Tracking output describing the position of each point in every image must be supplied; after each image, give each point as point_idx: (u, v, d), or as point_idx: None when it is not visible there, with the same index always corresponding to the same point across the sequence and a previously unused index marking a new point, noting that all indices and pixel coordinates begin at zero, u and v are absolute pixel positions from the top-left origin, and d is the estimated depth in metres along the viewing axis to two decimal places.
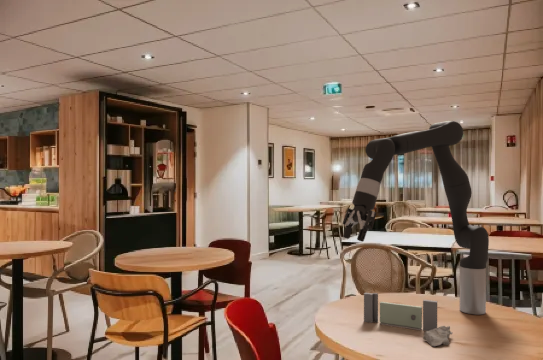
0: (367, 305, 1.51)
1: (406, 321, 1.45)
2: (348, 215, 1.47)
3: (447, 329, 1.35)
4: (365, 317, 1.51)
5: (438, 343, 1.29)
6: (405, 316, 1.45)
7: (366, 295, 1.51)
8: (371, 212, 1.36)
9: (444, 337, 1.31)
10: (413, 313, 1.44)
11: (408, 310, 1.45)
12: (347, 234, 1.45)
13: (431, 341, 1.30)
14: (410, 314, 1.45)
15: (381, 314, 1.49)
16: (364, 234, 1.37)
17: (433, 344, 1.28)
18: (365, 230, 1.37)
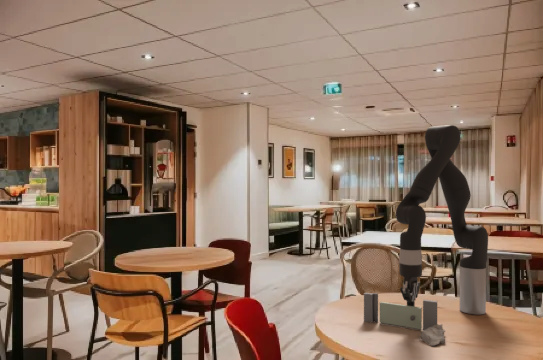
0: (367, 305, 1.51)
1: (406, 322, 1.45)
2: None
3: (441, 327, 1.36)
4: (365, 317, 1.51)
5: (436, 342, 1.29)
6: (405, 316, 1.45)
7: (366, 295, 1.51)
8: (401, 291, 1.43)
9: (440, 336, 1.32)
10: (412, 314, 1.44)
11: (408, 311, 1.44)
12: None
13: (429, 340, 1.30)
14: (410, 315, 1.44)
15: (381, 314, 1.49)
16: (409, 305, 1.46)
17: (432, 343, 1.29)
18: (409, 302, 1.46)
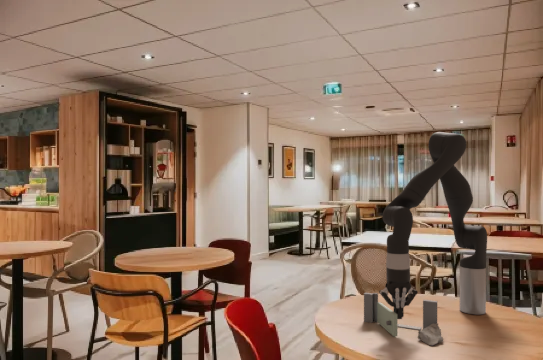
0: (367, 305, 1.51)
1: (387, 326, 1.40)
2: (408, 294, 1.41)
3: (437, 326, 1.37)
4: (365, 317, 1.51)
5: (435, 342, 1.30)
6: (387, 320, 1.41)
7: (366, 295, 1.51)
8: (380, 293, 1.40)
9: (438, 335, 1.33)
10: (390, 319, 1.38)
11: (388, 315, 1.40)
12: None
13: (428, 340, 1.31)
14: (389, 319, 1.39)
15: (378, 314, 1.49)
16: (394, 311, 1.39)
17: (431, 343, 1.29)
18: (394, 307, 1.40)
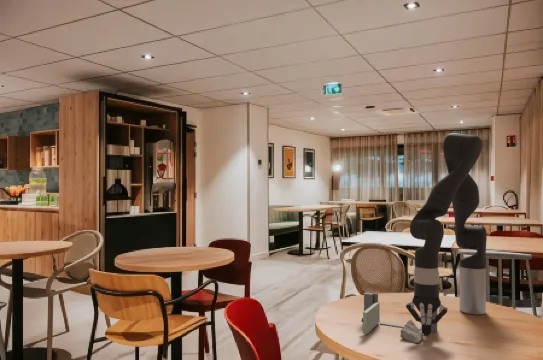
0: (367, 305, 1.51)
1: None
2: (439, 312, 1.33)
3: (413, 323, 1.40)
4: None
5: (419, 338, 1.32)
6: None
7: (366, 295, 1.51)
8: None
9: (418, 331, 1.36)
10: None
11: None
12: None
13: (412, 338, 1.32)
14: None
15: None
16: None
17: (416, 340, 1.31)
18: None
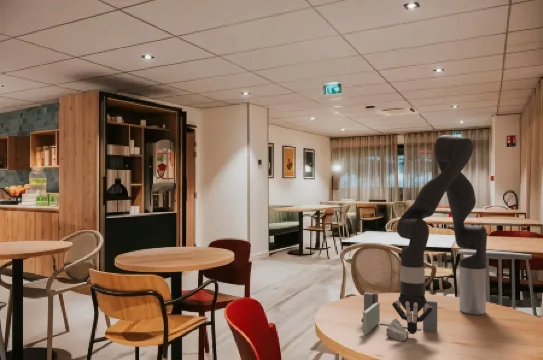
0: (367, 305, 1.51)
1: None
2: (425, 310, 1.35)
3: (398, 321, 1.42)
4: None
5: (404, 337, 1.34)
6: None
7: (366, 295, 1.51)
8: None
9: (403, 330, 1.37)
10: None
11: None
12: None
13: (398, 336, 1.34)
14: None
15: None
16: None
17: (402, 339, 1.33)
18: None
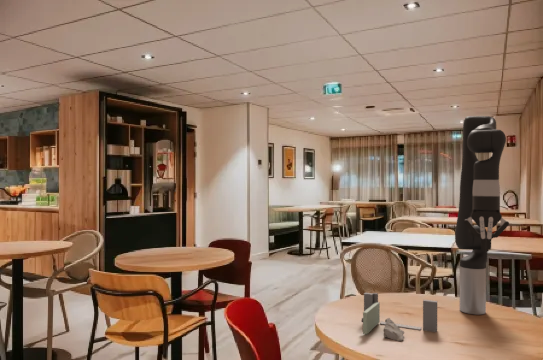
0: (367, 305, 1.51)
1: None
2: (500, 226, 1.29)
3: (391, 321, 1.42)
4: None
5: (401, 336, 1.34)
6: None
7: (366, 295, 1.51)
8: None
9: (398, 329, 1.38)
10: None
11: None
12: None
13: (395, 336, 1.34)
14: None
15: None
16: (480, 243, 1.30)
17: (400, 338, 1.33)
18: (480, 238, 1.31)
